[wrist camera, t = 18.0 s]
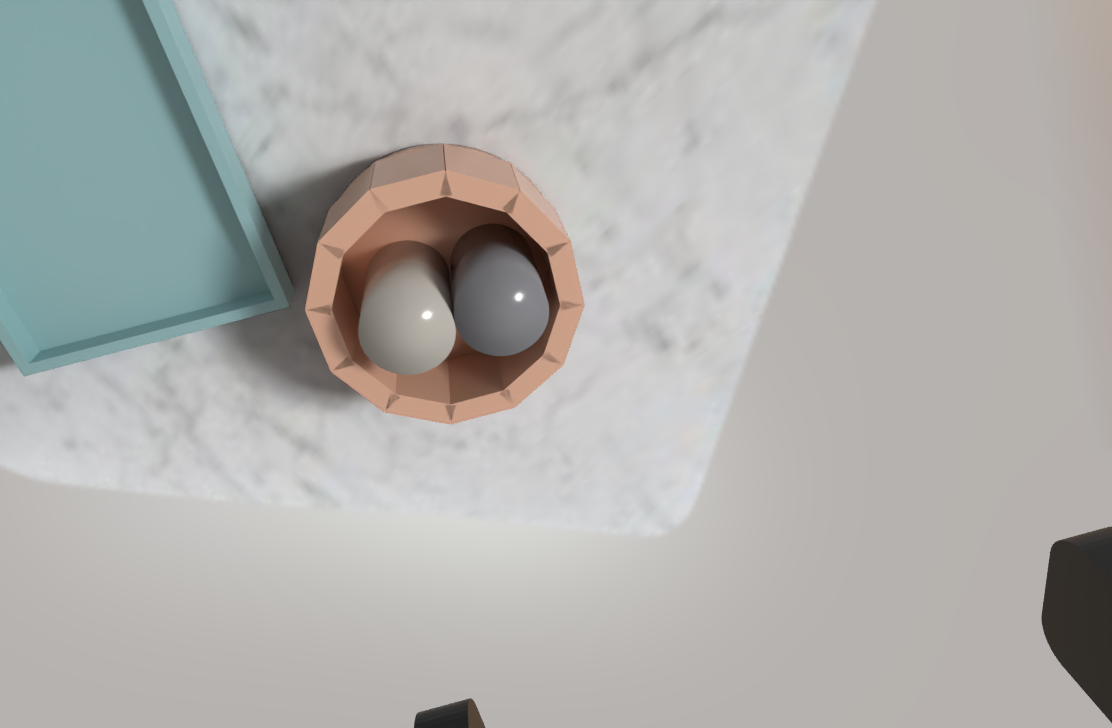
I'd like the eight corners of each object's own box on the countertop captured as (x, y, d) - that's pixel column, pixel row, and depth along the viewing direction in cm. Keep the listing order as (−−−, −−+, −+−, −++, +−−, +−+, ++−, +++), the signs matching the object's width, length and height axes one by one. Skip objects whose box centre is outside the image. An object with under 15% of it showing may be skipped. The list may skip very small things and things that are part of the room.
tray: (-200, -20, 28) (-234, -18, 27) (128, -102, 29) (112, -104, 27) (39, 358, 36) (23, 376, 35) (295, 291, 37) (289, 306, 35)
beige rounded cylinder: (355, 249, 35) (346, 300, 30) (440, 232, 35) (443, 279, 31) (378, 325, 37) (373, 383, 32) (458, 308, 37) (465, 363, 33)
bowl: (285, 179, 34) (265, 215, 30) (532, 115, 34) (548, 142, 30) (369, 390, 40) (362, 447, 35) (582, 334, 40) (602, 384, 36)
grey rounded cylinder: (440, 235, 36) (442, 283, 31) (522, 214, 36) (537, 258, 31) (463, 310, 37) (468, 366, 33) (541, 289, 37) (557, 342, 33)
